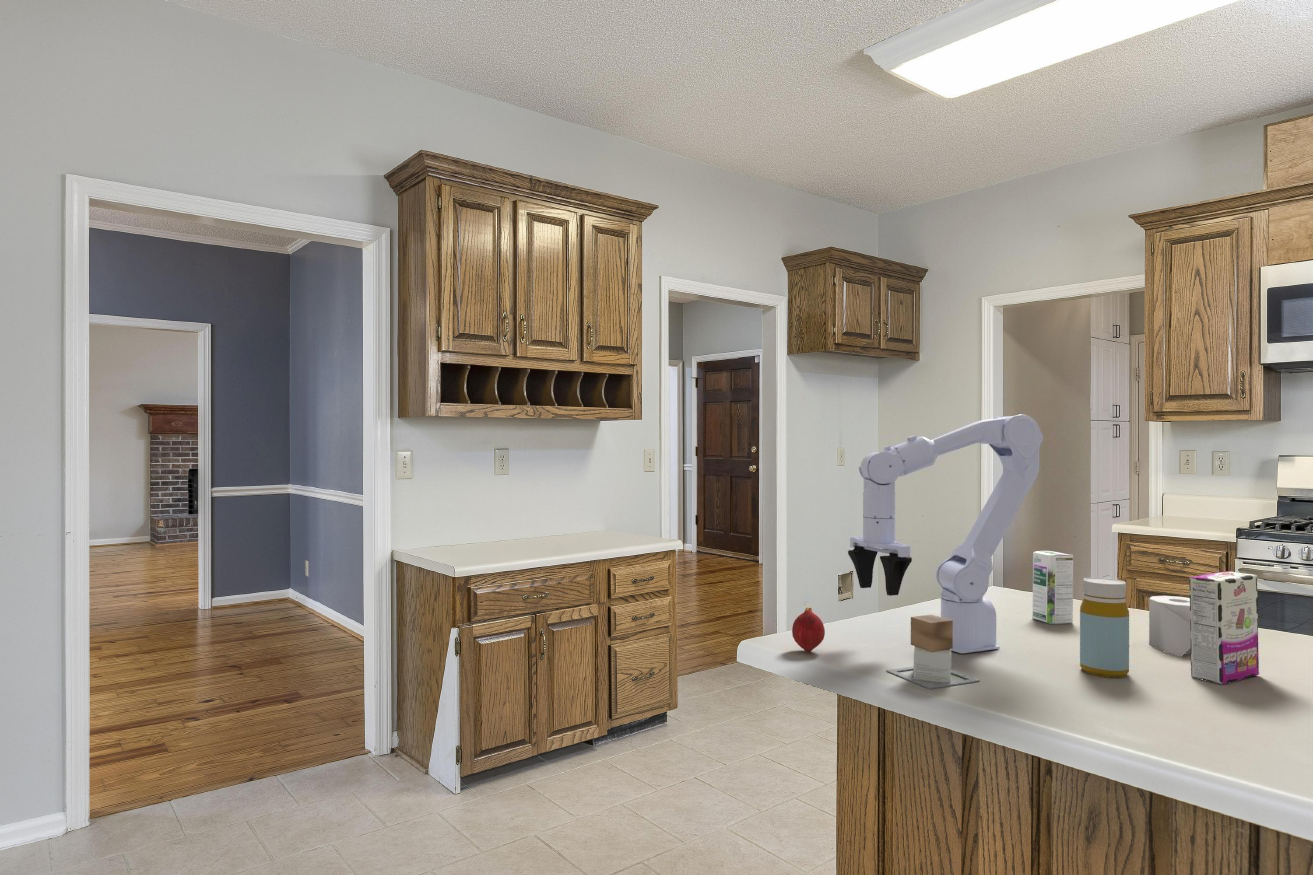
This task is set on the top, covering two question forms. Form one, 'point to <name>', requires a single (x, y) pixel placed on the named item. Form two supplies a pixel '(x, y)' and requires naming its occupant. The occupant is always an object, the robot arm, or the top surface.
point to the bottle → (1104, 628)
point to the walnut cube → (932, 633)
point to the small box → (932, 665)
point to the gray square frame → (969, 680)
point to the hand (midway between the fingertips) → (878, 591)
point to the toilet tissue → (1170, 624)
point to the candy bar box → (1224, 627)
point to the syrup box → (1052, 587)
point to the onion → (808, 630)
